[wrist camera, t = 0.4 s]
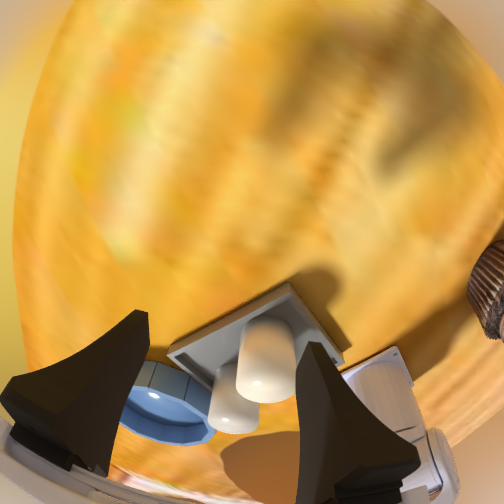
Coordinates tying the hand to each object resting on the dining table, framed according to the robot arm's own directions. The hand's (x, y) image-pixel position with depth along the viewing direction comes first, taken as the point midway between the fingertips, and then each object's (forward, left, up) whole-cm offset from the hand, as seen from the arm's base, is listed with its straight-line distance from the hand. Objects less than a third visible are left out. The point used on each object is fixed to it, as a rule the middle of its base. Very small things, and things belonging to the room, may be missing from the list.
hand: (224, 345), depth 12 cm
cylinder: (-11, +8, -9) cm, 16 cm away
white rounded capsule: (-7, +3, -9) cm, 12 cm away
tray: (-9, +5, -9) cm, 14 cm away
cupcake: (-17, -19, -10) cm, 27 cm away
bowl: (-10, +20, -9) cm, 24 cm away
